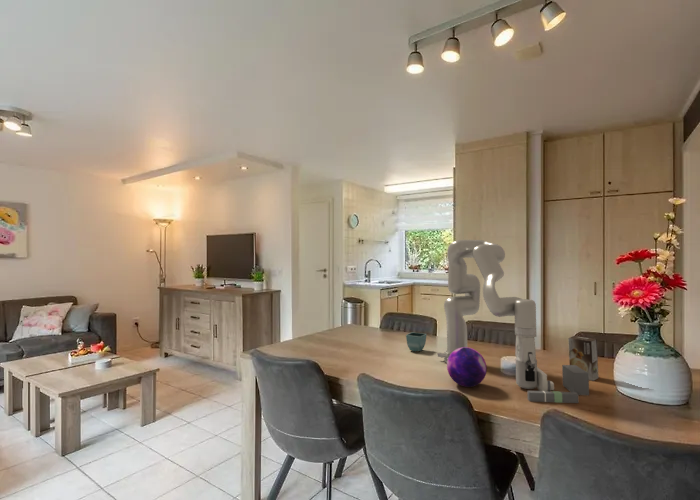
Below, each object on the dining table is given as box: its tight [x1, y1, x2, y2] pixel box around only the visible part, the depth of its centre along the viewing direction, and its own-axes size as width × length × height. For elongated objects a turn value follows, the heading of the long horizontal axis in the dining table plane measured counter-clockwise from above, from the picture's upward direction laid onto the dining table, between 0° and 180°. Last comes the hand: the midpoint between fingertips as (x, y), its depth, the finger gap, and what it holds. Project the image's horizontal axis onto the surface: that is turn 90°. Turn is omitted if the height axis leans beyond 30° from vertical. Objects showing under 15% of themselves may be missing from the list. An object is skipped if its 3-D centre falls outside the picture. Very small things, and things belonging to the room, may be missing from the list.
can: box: [515, 355, 538, 390], centre depth 143 cm, size 8×8×12 cm
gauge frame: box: [526, 364, 590, 404], centre depth 137 cm, size 23×18×8 cm
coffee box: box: [568, 335, 599, 381], centre depth 155 cm, size 9×6×16 cm
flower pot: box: [405, 331, 427, 352], centre depth 203 cm, size 9×9×9 cm
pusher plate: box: [536, 366, 555, 391], centre depth 139 cm, size 6×16×7 cm, turn 172°
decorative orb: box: [446, 346, 487, 388], centre depth 147 cm, size 15×15×15 cm
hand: (526, 377), depth 143 cm, fingers closed on can, 7 cm apart
